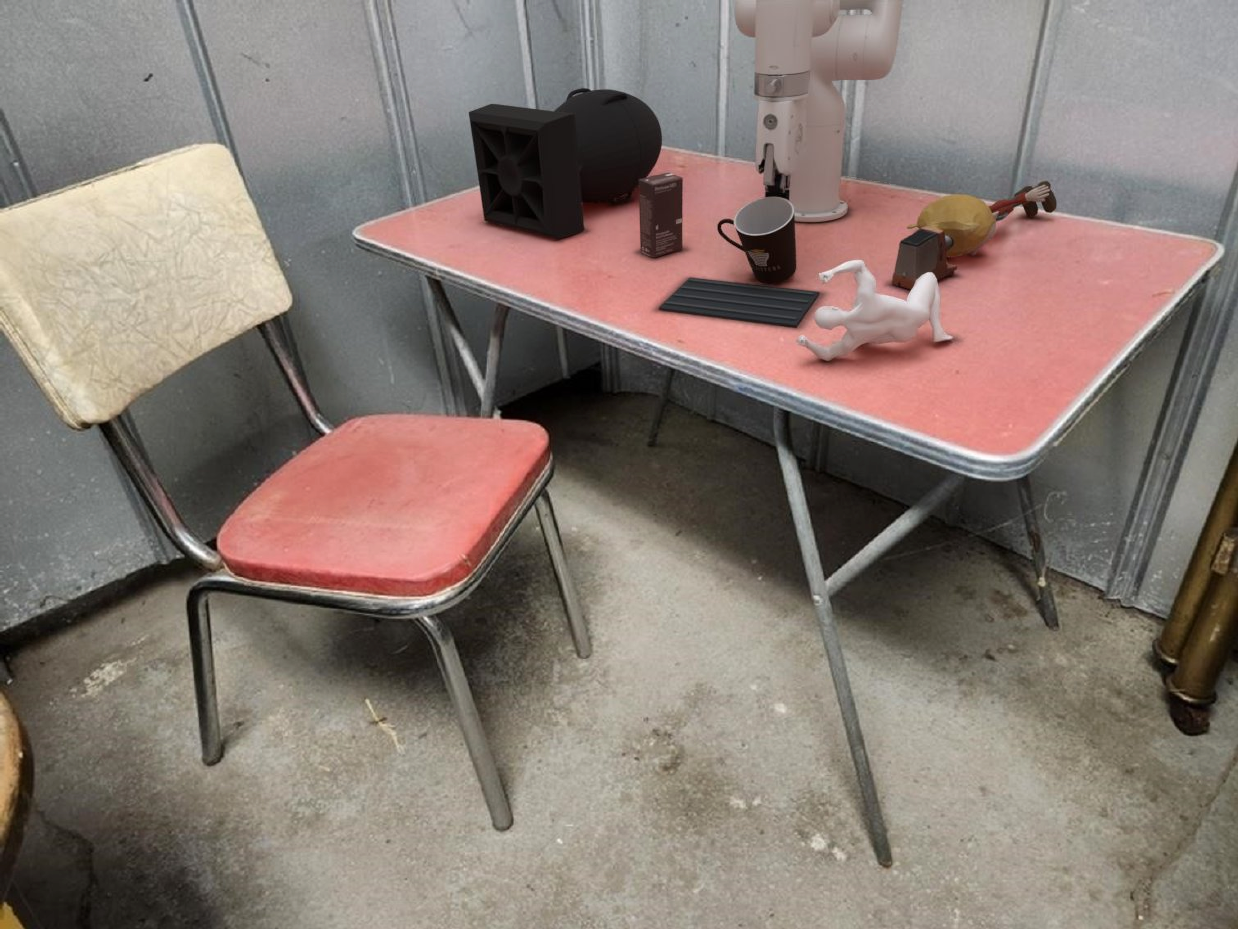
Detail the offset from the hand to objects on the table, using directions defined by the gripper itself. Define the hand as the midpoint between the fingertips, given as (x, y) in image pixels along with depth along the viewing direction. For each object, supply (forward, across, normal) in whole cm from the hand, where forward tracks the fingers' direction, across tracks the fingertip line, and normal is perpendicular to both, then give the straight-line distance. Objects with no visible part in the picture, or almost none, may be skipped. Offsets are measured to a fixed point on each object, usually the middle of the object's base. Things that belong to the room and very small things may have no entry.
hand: (776, 217), depth 130 cm
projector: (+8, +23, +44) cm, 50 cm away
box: (+8, +3, +20) cm, 22 cm away
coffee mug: (+7, -2, 0) cm, 7 cm away
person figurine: (+9, -24, -20) cm, 32 cm away
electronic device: (+8, +2, -22) cm, 24 cm away
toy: (+8, +22, -28) cm, 36 cm away
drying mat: (+8, -14, +1) cm, 16 cm away
